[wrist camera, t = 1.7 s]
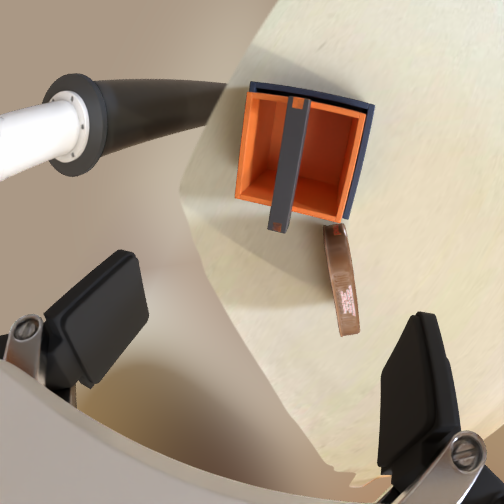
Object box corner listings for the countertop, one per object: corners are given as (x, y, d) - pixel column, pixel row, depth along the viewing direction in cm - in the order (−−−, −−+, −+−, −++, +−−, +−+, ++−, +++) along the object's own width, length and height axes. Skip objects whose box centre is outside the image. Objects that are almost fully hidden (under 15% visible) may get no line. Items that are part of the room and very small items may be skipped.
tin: (322, 215, 36) (317, 246, 29) (347, 211, 35) (348, 241, 28) (340, 309, 42) (337, 350, 35) (361, 307, 41) (361, 348, 34)
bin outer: (255, 176, 36) (236, 193, 30) (267, 85, 30) (250, 81, 24) (347, 198, 34) (348, 220, 28) (368, 104, 28) (375, 105, 22)
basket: (263, 172, 35) (216, 217, 23) (274, 93, 30) (228, 88, 18) (340, 190, 33) (338, 247, 21) (358, 109, 28) (372, 114, 16)
